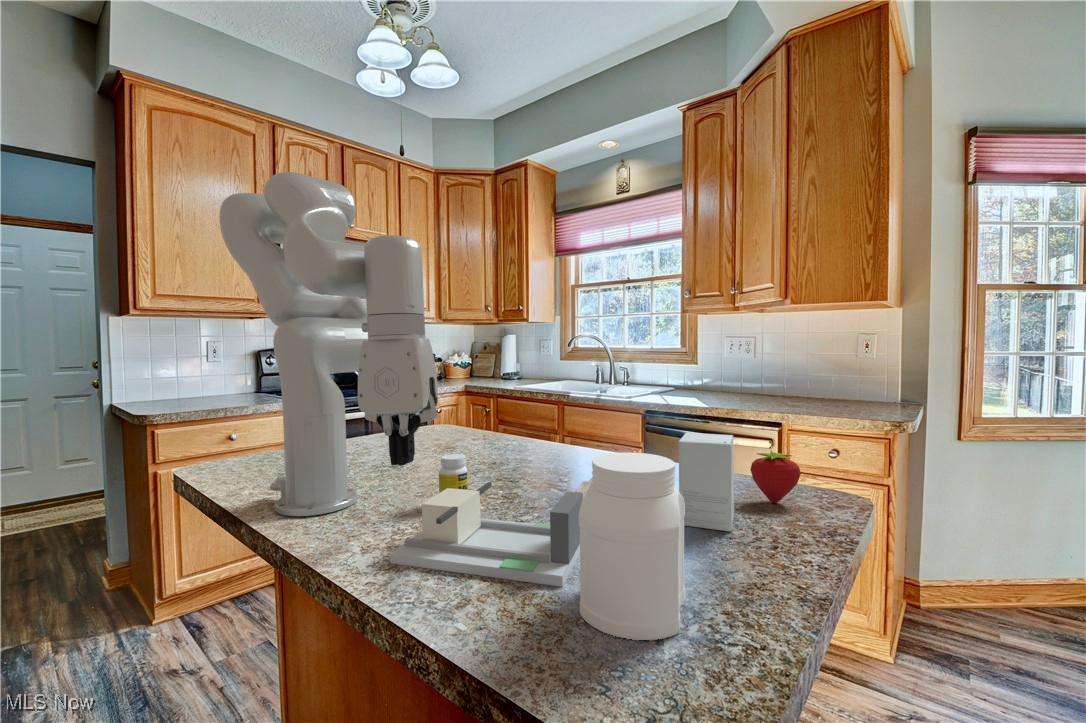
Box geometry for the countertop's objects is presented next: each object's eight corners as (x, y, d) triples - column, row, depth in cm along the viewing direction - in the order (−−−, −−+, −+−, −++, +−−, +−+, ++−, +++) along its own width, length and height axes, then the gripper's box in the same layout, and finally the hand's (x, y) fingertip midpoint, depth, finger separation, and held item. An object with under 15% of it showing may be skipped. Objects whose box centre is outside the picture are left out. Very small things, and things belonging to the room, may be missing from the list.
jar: (676, 650, 43) (676, 481, 42) (571, 629, 46) (570, 472, 46) (686, 588, 54) (686, 452, 53) (601, 574, 57) (600, 446, 56)
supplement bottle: (462, 512, 78) (461, 460, 78) (434, 510, 79) (433, 459, 79) (472, 502, 83) (471, 453, 83) (446, 501, 84) (445, 452, 84)
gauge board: (390, 563, 60) (388, 505, 60) (444, 522, 74) (443, 475, 74) (562, 586, 54) (561, 522, 54) (587, 537, 67) (587, 486, 67)
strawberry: (803, 511, 77) (803, 448, 76) (751, 506, 79) (751, 445, 79) (797, 499, 82) (798, 440, 82) (749, 495, 85) (749, 438, 84)
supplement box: (735, 515, 75) (735, 434, 75) (731, 533, 68) (731, 444, 68) (685, 509, 78) (685, 431, 78) (677, 525, 72) (677, 440, 71)
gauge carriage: (404, 556, 59) (403, 515, 59) (461, 512, 74) (460, 480, 73) (441, 560, 58) (440, 519, 57) (492, 515, 72) (491, 482, 72)
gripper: (331, 331, 65) (338, 468, 66) (431, 325, 61) (437, 472, 61) (367, 332, 72) (372, 456, 73) (458, 327, 68) (464, 458, 68)
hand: (402, 463), depth 67 cm, fingers closed
